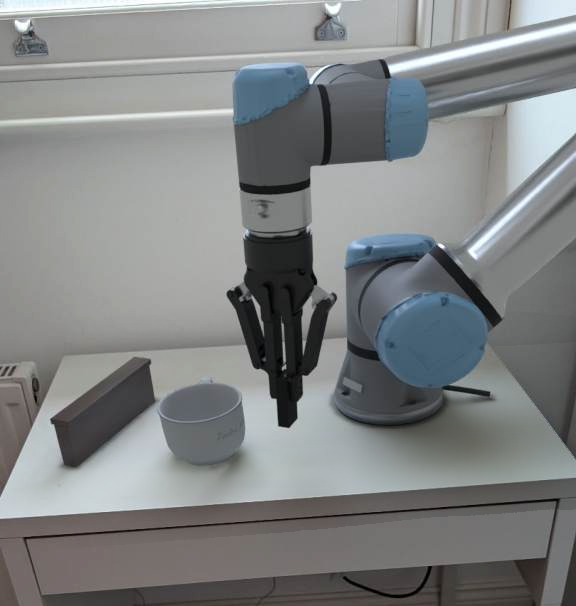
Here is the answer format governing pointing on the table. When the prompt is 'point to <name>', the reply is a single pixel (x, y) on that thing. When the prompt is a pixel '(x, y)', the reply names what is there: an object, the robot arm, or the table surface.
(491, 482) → the table surface
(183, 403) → the teacup
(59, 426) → the back rail
